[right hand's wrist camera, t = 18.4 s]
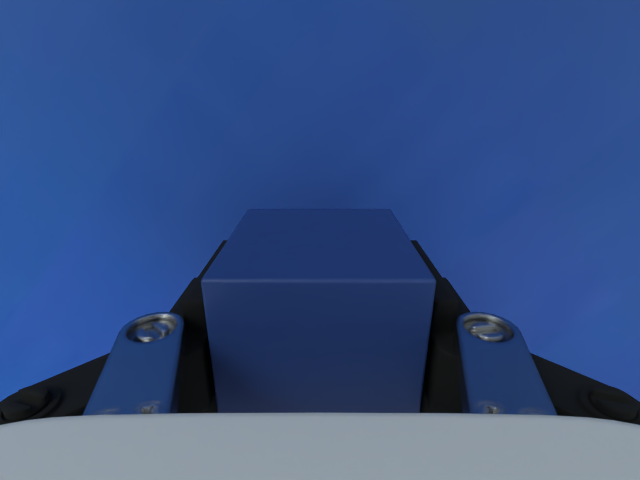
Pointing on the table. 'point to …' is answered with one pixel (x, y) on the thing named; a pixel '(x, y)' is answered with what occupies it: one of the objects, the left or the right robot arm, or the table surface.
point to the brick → (318, 314)
